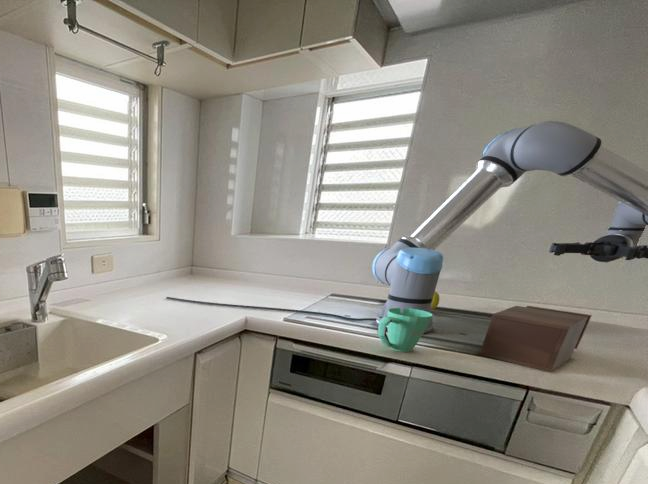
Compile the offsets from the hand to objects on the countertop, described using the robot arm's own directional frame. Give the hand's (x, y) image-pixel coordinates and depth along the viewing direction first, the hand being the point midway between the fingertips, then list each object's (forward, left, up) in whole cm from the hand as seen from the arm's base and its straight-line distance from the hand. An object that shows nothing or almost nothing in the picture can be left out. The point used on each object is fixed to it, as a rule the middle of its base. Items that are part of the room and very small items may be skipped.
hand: (591, 252), depth 106 cm
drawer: (0, -15, -23) cm, 28 cm away
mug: (-21, -49, -24) cm, 58 cm away
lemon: (-36, +4, -24) cm, 44 cm away
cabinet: (0, -27, -24) cm, 36 cm away
